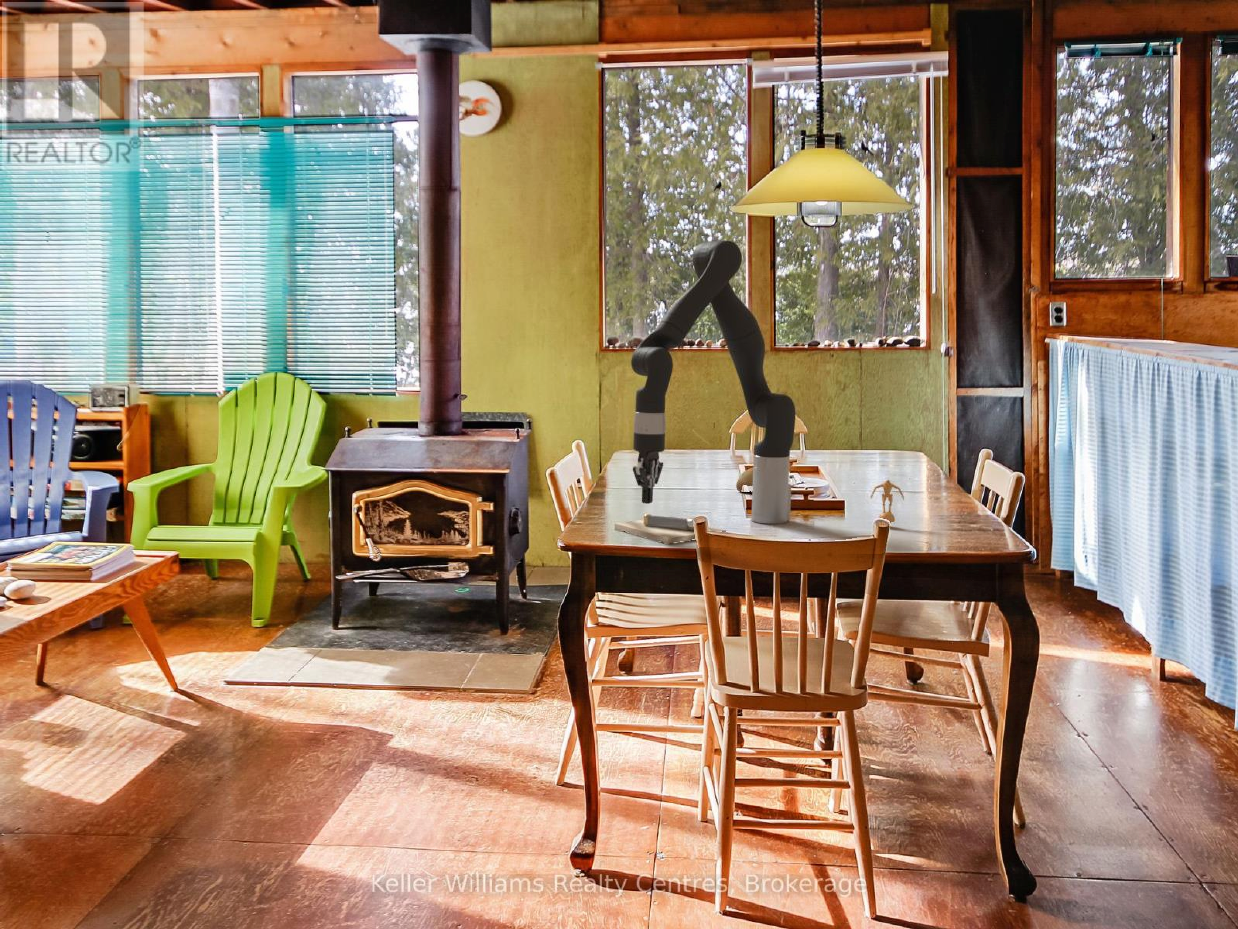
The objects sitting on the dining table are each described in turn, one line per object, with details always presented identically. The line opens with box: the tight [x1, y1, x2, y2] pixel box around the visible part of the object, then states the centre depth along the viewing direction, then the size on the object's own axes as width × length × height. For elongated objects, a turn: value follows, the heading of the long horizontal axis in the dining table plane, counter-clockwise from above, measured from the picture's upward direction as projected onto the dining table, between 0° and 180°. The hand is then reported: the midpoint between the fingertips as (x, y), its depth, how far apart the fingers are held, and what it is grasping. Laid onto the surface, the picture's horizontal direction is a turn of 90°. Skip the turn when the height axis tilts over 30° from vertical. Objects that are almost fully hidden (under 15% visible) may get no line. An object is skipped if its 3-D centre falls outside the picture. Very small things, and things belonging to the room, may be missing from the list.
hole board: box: [614, 515, 727, 545], centre depth 272 cm, size 18×21×2 cm
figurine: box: [870, 479, 905, 523], centre depth 284 cm, size 8×6×12 cm
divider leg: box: [643, 513, 695, 530], centre depth 269 cm, size 14×3×2 cm, turn 66°
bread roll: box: [735, 467, 753, 492], centre depth 334 cm, size 10×15×8 cm, turn 93°
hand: (647, 502), depth 266 cm, fingers closed
